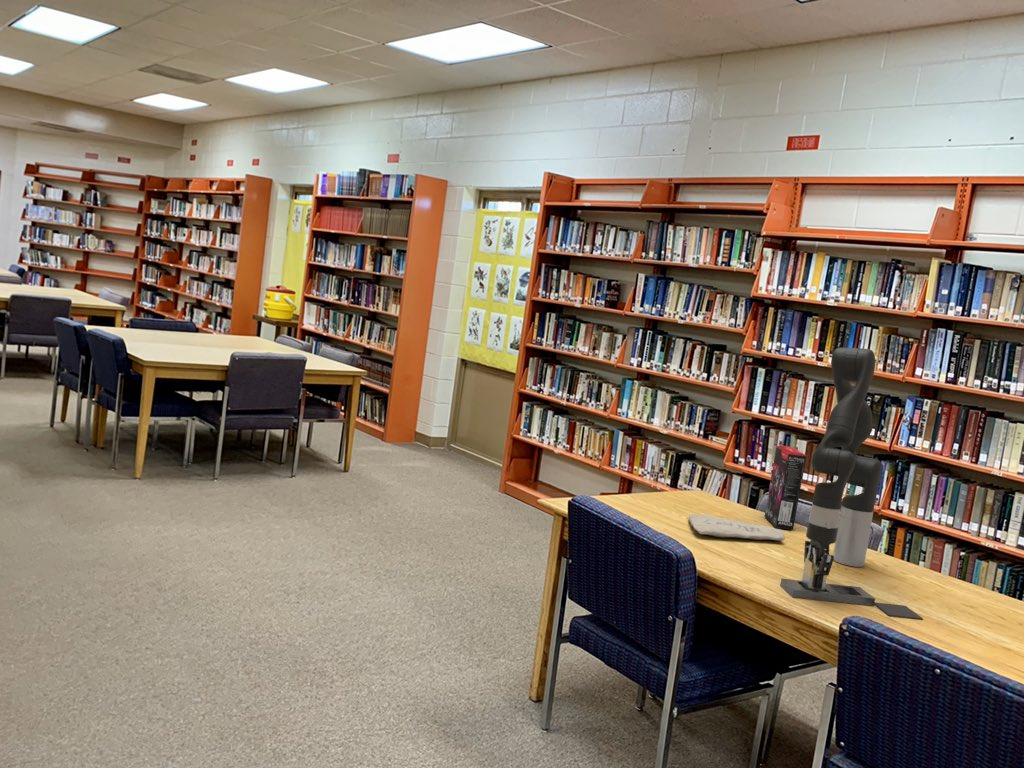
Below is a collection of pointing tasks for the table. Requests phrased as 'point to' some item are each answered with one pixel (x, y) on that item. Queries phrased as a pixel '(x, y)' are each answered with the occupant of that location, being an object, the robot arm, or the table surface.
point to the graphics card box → (785, 487)
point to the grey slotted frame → (829, 593)
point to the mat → (897, 611)
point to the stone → (733, 528)
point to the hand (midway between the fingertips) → (813, 584)
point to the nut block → (811, 576)
